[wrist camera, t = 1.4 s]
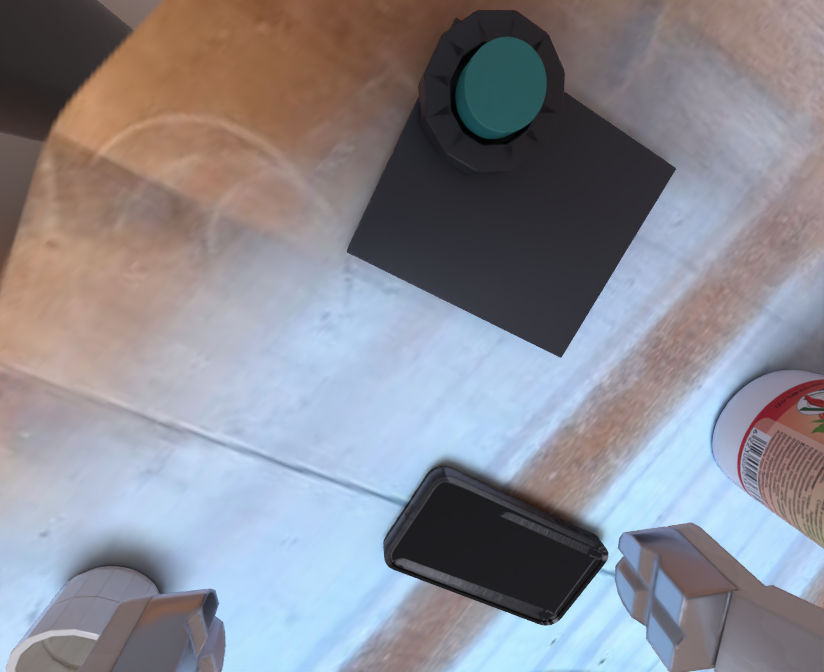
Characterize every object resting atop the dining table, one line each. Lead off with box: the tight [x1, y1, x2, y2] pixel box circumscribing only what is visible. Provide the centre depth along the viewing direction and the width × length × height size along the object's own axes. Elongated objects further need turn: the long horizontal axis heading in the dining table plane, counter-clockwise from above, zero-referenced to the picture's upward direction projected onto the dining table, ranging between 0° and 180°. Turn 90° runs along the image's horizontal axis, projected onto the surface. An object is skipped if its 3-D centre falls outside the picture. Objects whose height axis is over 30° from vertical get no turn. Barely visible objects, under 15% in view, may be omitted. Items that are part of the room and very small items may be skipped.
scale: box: [347, 10, 676, 357], centre depth 22 cm, size 14×13×3 cm
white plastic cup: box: [6, 566, 159, 672], centre depth 25 cm, size 6×6×4 cm
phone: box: [384, 467, 608, 626], centre depth 29 cm, size 8×1×15 cm
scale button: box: [455, 37, 547, 139], centre depth 18 cm, size 4×4×2 cm
